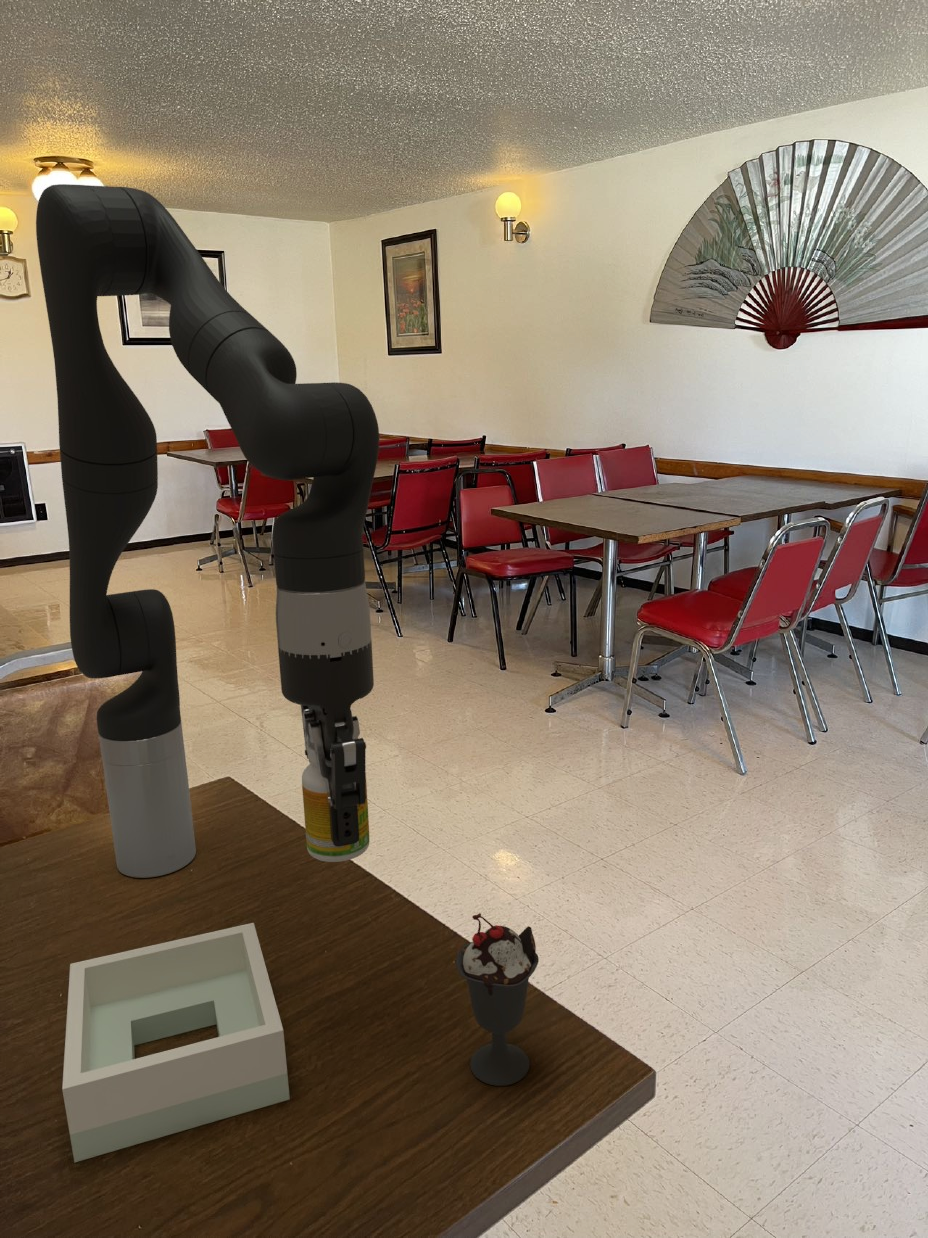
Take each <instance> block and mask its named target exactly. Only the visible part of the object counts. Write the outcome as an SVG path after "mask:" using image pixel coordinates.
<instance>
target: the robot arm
mask: <svg viewBox="0 0 928 1238" xmlns="http://www.w3.org/2000/svg"><path fill="white" fill-rule="evenodd" d="M35 215H36V217H35V218H36V219H35V234H36V246H37V253H38V260H39V266H40V267H39V268H40V274H41V281H42V288H43V295H44V299H45V300H44V301H45V307H46V312H47V320H48V325H49V333H50V339H51V345H52V352H53V353H52V354H53V361H54V370H55V371H54V372H55V383H56V396H57V415H58V416H57V418H58V442H59V443H58V445H59V458H60V470H61V481H62V491H63V499H64V507H65V516H66V518H65V519H66V525H67V527H66V528H67V534H68V550H69V551H68V553H69V556H68V557H69V634H70V646H71V650H72V655H73V659H74V662H75V665H76V667H77V668H78V670H79V671H80V673H81V675H83V676H85V677H86V678H88V679H106V678H107V679H108V678H114V677H117V676H119V677H120V676H125V675H128V674H129V675H130V674H134V673H140V672H141V673H140V675H139V676H138V678H137V679H136V680H135V681H134V682H133V683H132V684H131V685H130V686H129V687H127V688H126V689H124V690H123V691H122V692H120V693H118V694H116V695H114V696H113V697H111V698H109V699H108V700H107V701H105V702H104V703H102V704H101V705H100V707H99V708H98V710H97V711H96V724H97V732H98V738H99V746H100V754H101V760H102V768H103V774H104V781H105V790H106V795H107V803H108V809H109V811H108V812H109V818H110V825H111V834H112V840H113V847H114V855H115V862H116V868H117V870H118V871H119V872H120V873H121V874H122V875H125V876H128V877H131V878H142V879H143V878H146V879H147V878H154V877H160V876H164V875H168V874H171V873H173V872H177V871H178V870H180V869H182V868H184V867H185V866H187V865H189V863H191V862H192V861H193V860H194V859H195V857H196V853H197V849H196V840H195V839H196V838H195V829H194V820H193V811H192V802H191V801H192V800H191V793H190V785H189V777H188V769H187V768H188V767H187V761H186V749H185V744H184V742H185V741H184V733H183V723H182V716H181V702H180V699H181V698H180V689H179V688H180V687H179V679H178V678H179V677H178V676H179V675H178V664H177V663H178V662H177V661H178V660H177V644H176V643H177V639H176V628H175V622H174V615H173V611H172V608H171V605H170V602H169V601H168V599H167V597H166V596H165V594H163V592H161V591H160V590H158V589H154V588H153V589H152V588H150V589H140V590H133V591H125V592H119V593H112V594H111V593H109V594H108V589H109V584H110V580H111V576H112V573H113V571H114V569H115V566H116V564H117V562H118V560H119V557H121V555H122V553H123V551H124V550H125V549H126V547H127V545H128V544H129V542H130V541H131V539H132V538H133V537H134V536H135V534H136V532H137V531H138V530H139V528H140V527H141V525H142V524H143V522H144V521H145V519H146V518H147V516H148V514H149V512H150V510H151V508H152V506H153V504H154V502H155V500H156V496H157V493H158V485H159V482H158V481H159V479H158V478H159V477H158V475H159V474H158V473H159V471H158V465H159V464H158V440H157V431H156V428H155V426H154V422H153V421H152V418H151V416H150V415H149V413H148V412H147V410H146V408H145V407H144V405H143V404H142V403H141V401H140V399H139V398H138V396H137V395H136V394H135V393H134V391H133V390H132V389H131V387H130V386H129V384H128V383H127V381H125V379H124V377H123V376H122V374H121V373H120V372H119V370H118V369H117V368H116V365H115V364H114V362H113V360H112V358H111V357H110V355H109V353H108V351H107V349H106V347H105V343H104V339H103V336H102V332H101V328H100V323H99V322H100V321H99V316H98V304H97V303H98V297H115V296H116V297H119V296H120V297H122V296H124V297H125V296H137V295H138V296H139V295H143V294H152V295H155V296H157V297H159V298H160V299H162V300H163V301H165V302H167V304H169V305H170V309H169V314H168V315H169V316H168V317H169V318H168V333H169V339H170V342H171V346H172V348H173V350H174V353H175V355H176V357H177V358H178V360H179V362H180V364H181V365H182V366H183V368H184V369H185V370H186V371H187V372H188V373H189V375H190V376H191V377H192V378H193V379H194V380H195V381H196V382H197V383H198V384H199V385H200V386H201V387H202V388H203V389H204V390H205V391H206V392H207V393H208V394H209V395H210V396H211V397H212V398H213V399H214V400H215V401H216V402H217V403H219V405H220V407H221V410H222V412H223V414H224V416H225V418H226V420H227V422H228V424H229V426H230V428H231V430H232V432H233V434H234V437H235V439H236V441H237V443H238V446H239V449H240V450H241V452H242V455H243V456H244V458H245V459H246V460H247V462H248V463H249V464H250V465H251V466H252V467H253V468H254V469H256V470H257V471H259V473H260V472H261V473H262V474H263V475H266V476H267V477H269V478H272V479H275V480H280V481H295V480H302V479H309V478H312V482H311V485H310V490H309V493H308V495H307V498H306V499H305V500H304V501H303V502H302V503H300V504H299V505H297V506H295V507H293V508H291V509H289V510H287V511H285V512H283V513H281V514H280V515H278V516H277V517H276V519H275V521H274V523H273V526H272V527H273V528H272V546H273V548H272V549H273V559H274V570H275V572H274V574H275V583H276V584H275V585H276V601H275V624H276V625H275V626H276V638H277V649H278V650H277V652H278V663H279V664H278V665H279V676H280V686H281V693H282V696H283V697H284V698H285V699H286V700H287V701H289V702H291V703H293V704H295V705H299V706H300V708H301V709H300V711H301V717H302V719H301V721H302V729H303V737H304V747H305V749H304V754H305V756H306V759H307V760H309V759H308V743H309V742H310V741H311V743H312V744H314V748H315V755H316V762H317V769H318V774H319V776H320V777H321V778H324V779H325V782H326V789H327V796H328V797H327V802H328V803H329V813H330V827H331V840H332V842H333V844H334V845H335V846H336V847H340V846H345V845H350V844H355V843H357V842H358V840H359V824H358V807H357V805H358V804H359V805H361V804H365V802H366V784H367V773H366V772H367V771H366V769H367V768H366V749H367V744H366V742H365V740H364V738H363V737H361V738H359V736H360V735H361V729H360V723H359V718H358V716H357V715H353V713H352V710H351V707H352V705H353V704H354V703H355V702H356V701H358V700H360V699H363V698H365V697H366V696H368V695H369V694H370V693H371V692H372V690H373V688H374V685H375V682H374V664H373V663H374V662H373V644H372V643H373V642H372V628H371V627H372V626H371V622H372V621H371V610H370V609H371V608H370V603H369V602H370V601H369V598H368V592H367V586H366V574H365V573H366V571H365V570H366V569H365V552H364V540H363V538H364V537H363V531H364V525H365V520H366V516H367V513H368V508H369V503H370V497H371V492H372V487H373V483H374V478H375V473H376V468H377V463H378V457H379V452H380V451H379V450H380V428H379V424H378V420H377V416H376V412H375V410H374V407H373V406H372V404H371V401H370V400H369V398H368V397H367V396H366V394H365V393H364V392H363V391H362V390H360V388H358V387H356V386H354V385H353V384H350V383H347V382H333V381H332V382H312V383H311V382H310V383H309V382H307V383H297V375H298V374H297V366H296V363H295V360H294V357H293V355H292V353H291V352H290V351H289V350H288V348H287V347H286V346H285V344H284V343H282V342H281V341H280V340H279V339H278V338H277V337H276V336H275V335H274V334H273V333H272V332H271V331H270V330H269V329H268V328H267V327H265V326H264V325H263V324H262V323H261V322H260V321H258V319H256V318H255V317H254V316H253V315H252V314H251V313H249V311H247V310H246V309H245V308H244V307H243V306H242V305H241V304H240V303H239V302H238V301H237V300H236V299H235V298H234V297H233V296H232V295H231V294H230V293H229V292H228V290H226V288H225V287H224V285H223V284H222V283H221V282H220V280H219V278H217V277H216V275H215V274H214V272H213V271H212V270H211V268H210V267H209V265H208V264H207V262H206V260H205V259H204V258H203V256H202V255H201V253H200V252H199V250H197V248H196V246H195V245H194V244H193V243H192V242H191V240H190V239H189V237H188V236H187V234H186V233H185V231H184V230H183V229H182V227H181V226H180V225H179V224H178V222H177V220H176V219H175V218H174V217H173V215H172V214H171V212H169V211H168V209H167V208H166V207H165V206H164V205H163V204H162V203H161V202H160V201H159V200H158V199H157V198H156V197H154V196H153V195H152V194H150V193H149V192H146V191H144V190H141V189H138V188H134V187H128V186H107V185H106V186H105V185H86V184H67V183H66V184H64V183H63V184H59V183H58V184H51V185H49V186H47V187H46V188H45V189H43V191H42V193H41V195H40V197H39V199H38V202H37V207H36V214H35ZM325 759H326V760H327V761H331V767H328V766H327V765H326V763H325ZM308 765H310V763H309V764H308ZM344 784H350V788H348V789H342V790H341V787H342V786H343V785H344Z"/></svg>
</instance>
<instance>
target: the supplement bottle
mask: <svg viewBox="0 0 928 1238" xmlns="http://www.w3.org/2000/svg"><path fill="white" fill-rule="evenodd" d="M307 760H308V762H309V764H310V765H309V764H308V765H307V766H306V767H305V768H304V770H303V772H302V773H301V774H302V775H301V788H302V800H303V813H304V814H303V815H304V827H305V839H306V848H307V852H308V854H309V855H310V856H311V857H312V858H314V859H316V860H319V861H322V862H330V863H337V862H338V863H339V862H345V861H350V860H353V859H356V858H358V857H360V856H361V855H363V854H364V853H365V852H366V851H367V849H368V848H369V847H370V843H371V842H370V824H369V823H370V822H369V819H370V818H369V803H368V788H367V786H368V785H367V783H366V802H365V804H361V805H359V804H358V805H357V807H358V824H359V840H358V842H357V843H355V844H350V845H345V846H340V847H336V846H335V845H334V844H333V842H332V840H331V827H330V813H329V803H328V802H327V797H328V796H327V789H326V782H325V779H324V778H321V777H320V776H319V774H318V769H317V762H316V755H315V748H314V744H312V743H311V741H310V742H309V743H308V759H307ZM325 763H326V765H327V766H328V767H331V761H327V760H326V759H325ZM348 788H350V784H344V785H343V786H342V787H341V790H342V789H348Z"/></svg>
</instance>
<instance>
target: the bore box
mask: <svg viewBox="0 0 928 1238" xmlns="http://www.w3.org/2000/svg"><path fill="white" fill-rule="evenodd" d="M263 955H264V954H263V952H262V949H261V944H260V940H259V938H258V934H257V929H256V926H255V923H254V922H251V923H245V924H241V925H237V926H232V927H228V928H224V929H223V928H222V929H220V930H215V931H210V932H206V933H202V934H201V933H200V934H197V935H192V936H188V937H183V938H179V939H178V938H177V939H175V940H170V941H165V942H161V943H157V944H152V945H148V946H144V947H139V948H134V949H129V950H125V951H122V952H118V953H112V954H109V955H108V954H107V955H103V956H99V957H94V958H90V959H86V960H82V961H81V960H80V961H78V962H73V963H70V965H69V976H68V977H69V979H68V981H69V982H68V995H67V1009H66V1010H67V1011H66V1012H67V1013H66V1024H65V1025H66V1026H65V1044H64V1056H63V1073H62V1087H61V1091H62V1096H63V1100H64V1101H63V1102H64V1106H65V1113H66V1120H67V1125H68V1131H69V1132H68V1133H69V1138H70V1144H71V1149H72V1156H73V1161H74V1163H78V1162H81V1161H85V1160H88V1159H91V1158H95V1157H98V1156H102V1155H104V1154H108V1153H112V1152H116V1151H118V1150H123V1149H125V1148H129V1147H132V1146H135V1145H138V1144H142V1143H145V1142H146V1143H147V1142H150V1141H154V1140H157V1139H160V1138H163V1137H166V1136H169V1135H173V1134H176V1133H177V1134H178V1133H180V1132H184V1131H186V1130H190V1129H193V1128H197V1127H201V1126H203V1125H207V1124H210V1123H214V1122H217V1121H220V1120H224V1119H227V1118H232V1117H234V1116H238V1115H242V1114H245V1113H248V1112H252V1111H255V1110H258V1109H262V1108H265V1107H268V1106H272V1105H275V1104H279V1103H282V1102H285V1101H289V1100H291V1099H290V1089H289V1087H290V1086H289V1077H288V1068H287V1067H288V1065H287V1058H286V1057H287V1056H286V1045H285V1035H284V1033H285V1031H284V1027H283V1024H282V1021H281V1016H280V1014H279V1009H278V1006H277V1002H276V1000H275V995H274V991H273V988H272V984H271V982H270V978H269V977H270V976H269V974H268V970H267V967H266V964H265V963H266V962H265V959H264V956H263ZM215 1025H216V1029H217V1035H218V1036H217V1037H213V1038H210V1039H206V1040H205V1039H204V1040H201V1041H198V1042H194V1043H191V1044H187V1045H183V1046H179V1047H175V1048H172V1049H168V1050H164V1051H160V1052H157V1053H151V1054H148V1055H145V1056H141V1057H137V1058H135V1057H136V1055H135V1046H138V1045H141V1044H145V1043H149V1042H153V1041H156V1040H160V1039H164V1038H168V1037H172V1036H176V1035H181V1034H184V1033H188V1032H192V1031H196V1030H199V1029H203V1028H207V1027H211V1026H215Z"/></svg>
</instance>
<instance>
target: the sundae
mask: <svg viewBox="0 0 928 1238" xmlns="http://www.w3.org/2000/svg"><path fill="white" fill-rule="evenodd" d="M472 919H473V920H474V921H475V920H476V921H478V930H477V932H476V933H474V934H473V936H472V939H471V940H472V941H471V942H469V943H467V944H464V945H463V946H461V948H460V949H459V951H458V953H457V955H456V969H457V972H458V974H459V975H460V976H461V978H463V979H465V980H466V982H467V984H468V990H469V996H470V1001H471V1008H472V1011H473V1015H474V1019H475V1021H476V1022H477V1023H476V1024H478V1025H479V1026H480V1027H481V1028H483V1029H484V1030H485V1031H486V1032H489V1033H491V1034H492V1035H491V1037H492V1042H490V1043H487V1044H485V1045H483V1046H481V1047H478V1049H477V1050H476V1051H475V1052H474V1053H473V1054H472V1057H471V1058H470V1060H469V1061H470V1063H469V1064H470V1065H469V1066H470V1071H471V1072H472V1074H473V1075H474V1076H475V1078H476V1079H478V1080H479V1081H480V1082H483V1083H484V1084H487V1085H490V1086H494V1087H504V1086H505V1087H506V1086H510V1085H513V1084H515V1083H517V1082H519V1081H521V1080H522V1079H523V1078H524V1077H526V1075H527V1073H528V1071H529V1069H530V1060H529V1057H528V1055H527V1053H526V1052H525V1051H524V1050H523V1049H522V1048H520V1047H518V1046H517V1045H514V1044H511V1043H508V1042H507V1033H510V1032H511V1031H512V1030H514V1029H515V1028H516V1027H517V1026H518V1025H519V1024H520V1023H521V1021H522V1019H523V1015H524V1011H525V1007H526V1001H527V993H528V987H529V979H530V977H531V976H532V975H533V974H534V973H535V970H536V969H537V967H538V964H539V962H540V961H539V959H540V958H539V956H538V953H537V952H536V950H537V949H536V948H537V946H536V940H535V938H534V935H533V929H532V927H531V926H529V925H528V926H527V927H525V929H524V930H523V931H522V932H521V933H520V934H518V933H517V932H516V931H514V930H513V929H512V928H510V927H507V926H505V925H493V924H492V923H491V922H490V921H488V920H487V919H486V918H485V917H484V916H482V914H481V913H480V912H479V913H478V914H473V915H472ZM480 919H482V920H483V921H484V922H486V923H487V924H488V925H489V926H490V927H489V928H488V929H487V930H485V931H484V932H483V931H481V929H482V928H481V927H482V923H481V920H480Z"/></svg>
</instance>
